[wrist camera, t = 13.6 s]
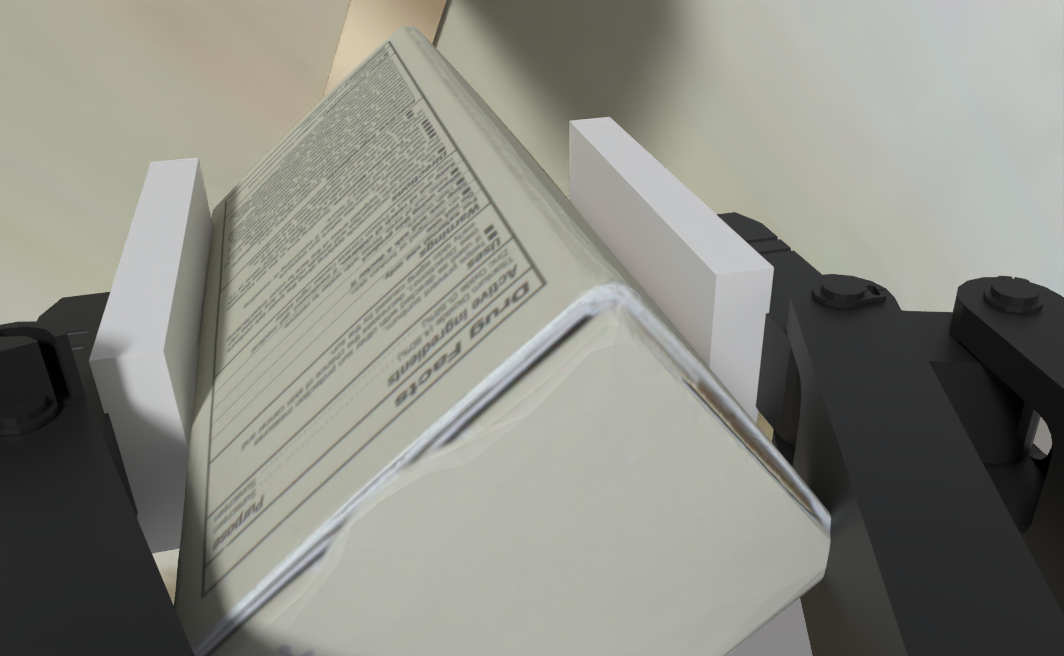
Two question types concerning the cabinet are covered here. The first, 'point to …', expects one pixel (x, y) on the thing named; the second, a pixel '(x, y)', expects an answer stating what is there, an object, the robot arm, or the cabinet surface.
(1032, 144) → the cabinet surface
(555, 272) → the box
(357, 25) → the door frame
